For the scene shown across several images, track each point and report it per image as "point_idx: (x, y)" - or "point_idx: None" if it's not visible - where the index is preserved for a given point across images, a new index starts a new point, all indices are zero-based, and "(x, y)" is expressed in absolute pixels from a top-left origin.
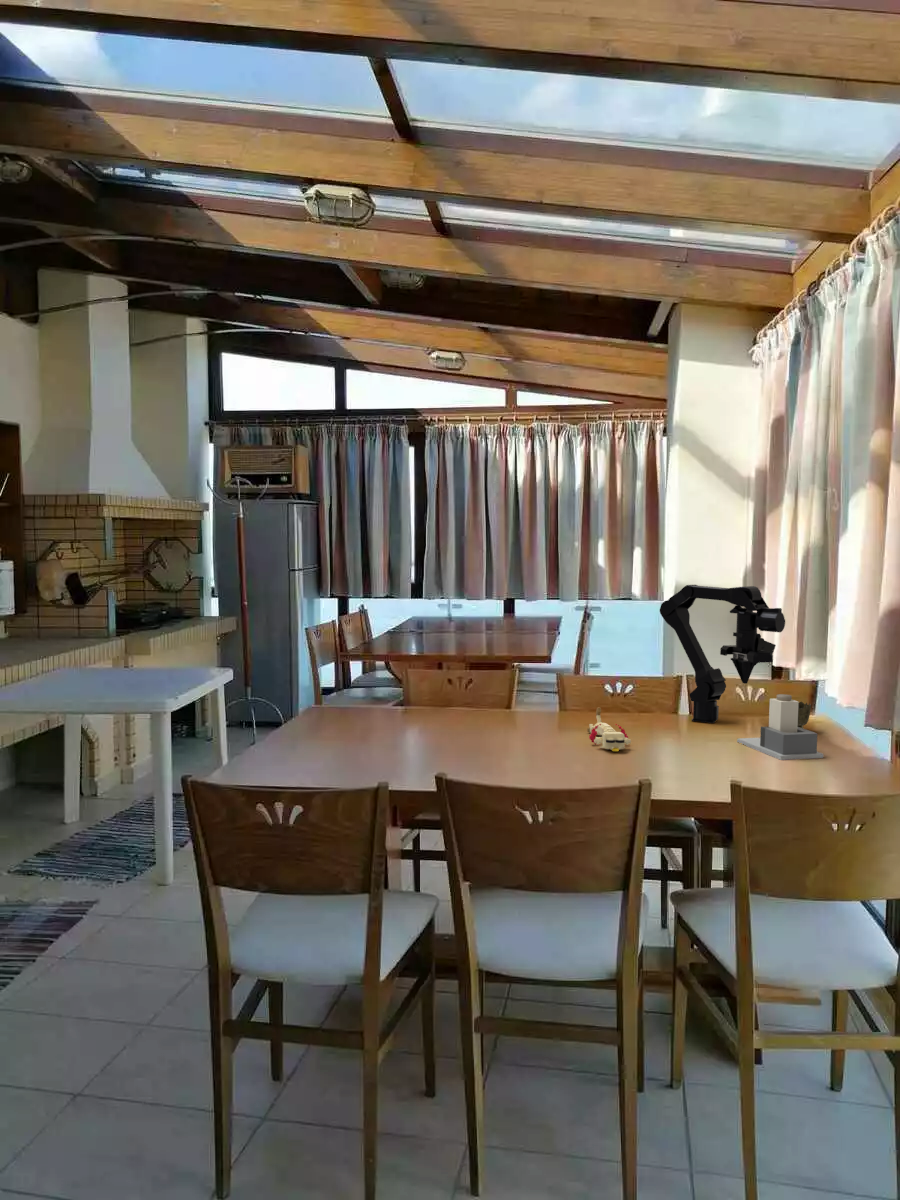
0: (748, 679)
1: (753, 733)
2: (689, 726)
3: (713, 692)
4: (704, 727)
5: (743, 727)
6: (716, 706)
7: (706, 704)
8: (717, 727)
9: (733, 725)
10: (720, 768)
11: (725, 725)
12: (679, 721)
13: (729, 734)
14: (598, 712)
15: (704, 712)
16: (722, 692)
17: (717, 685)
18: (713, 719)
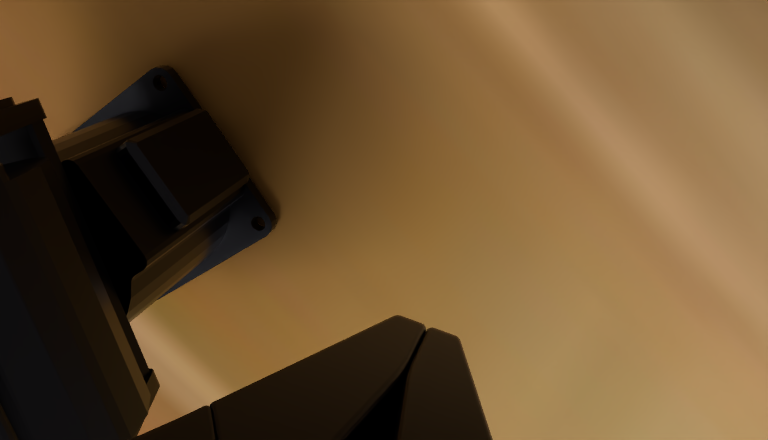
0: (471, 388)
1: (763, 238)
2: None
3: (136, 415)
4: None
5: (509, 96)
6: (159, 199)
7: (137, 313)
8: (403, 298)
9: (396, 109)
10: None
11: (367, 174)
12: None
13: (658, 436)
14: None
15: (173, 284)
16: (61, 196)
17: (59, 409)
18: (236, 197)
